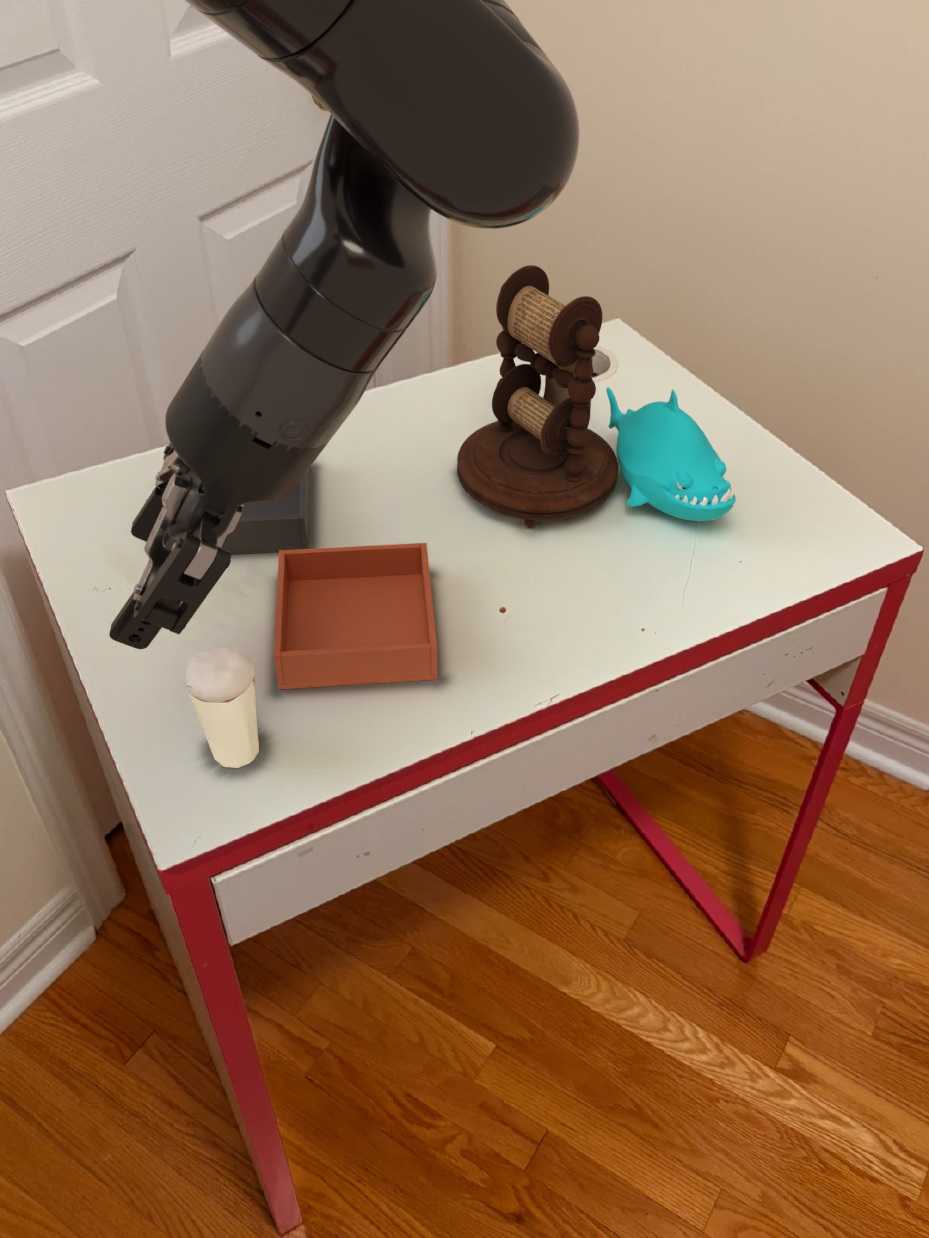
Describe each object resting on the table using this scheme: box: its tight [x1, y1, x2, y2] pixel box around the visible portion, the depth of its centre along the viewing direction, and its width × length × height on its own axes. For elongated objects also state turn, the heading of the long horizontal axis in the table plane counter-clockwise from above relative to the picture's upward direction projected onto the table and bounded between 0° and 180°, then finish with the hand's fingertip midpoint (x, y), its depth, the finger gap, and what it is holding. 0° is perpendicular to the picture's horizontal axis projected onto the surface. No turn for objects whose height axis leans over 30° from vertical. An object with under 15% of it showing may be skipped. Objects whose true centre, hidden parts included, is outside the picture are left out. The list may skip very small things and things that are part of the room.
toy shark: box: [605, 386, 737, 522], centre depth 93 cm, size 10×18×11 cm, turn 30°
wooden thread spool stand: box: [456, 264, 619, 530], centre depth 91 cm, size 15×15×20 cm
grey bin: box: [164, 466, 311, 555], centre depth 93 cm, size 12×12×4 cm
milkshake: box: [183, 646, 260, 769], centre depth 71 cm, size 4×5×10 cm
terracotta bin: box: [273, 542, 439, 690], centre depth 82 cm, size 12×12×4 cm
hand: (136, 586), depth 61 cm, fingers open, 8 cm apart
